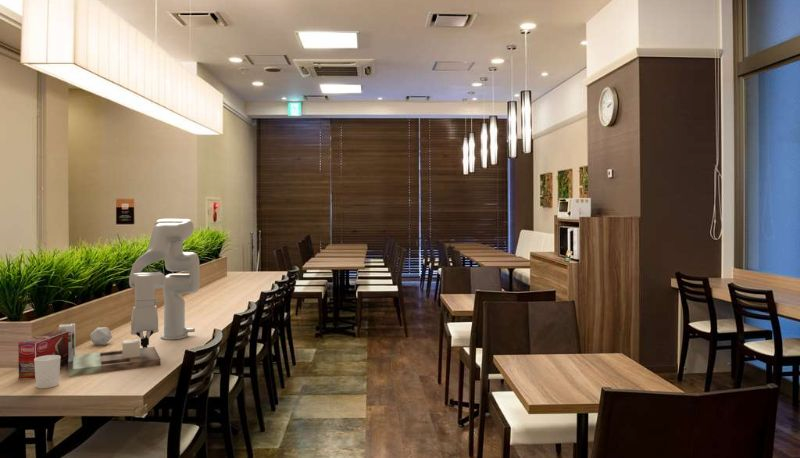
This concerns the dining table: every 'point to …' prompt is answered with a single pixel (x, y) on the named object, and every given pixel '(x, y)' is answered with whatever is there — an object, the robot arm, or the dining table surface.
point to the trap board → (110, 361)
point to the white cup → (47, 371)
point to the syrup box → (69, 333)
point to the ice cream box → (42, 351)
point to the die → (100, 336)
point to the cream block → (131, 348)
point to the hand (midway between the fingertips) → (144, 347)
